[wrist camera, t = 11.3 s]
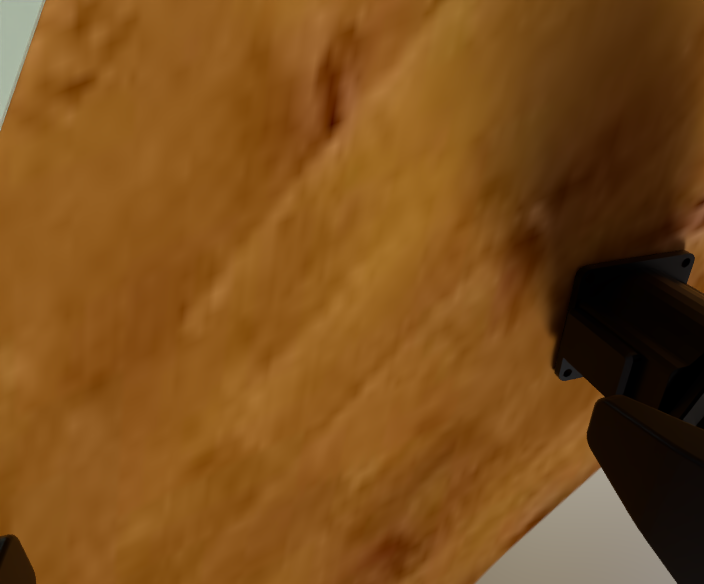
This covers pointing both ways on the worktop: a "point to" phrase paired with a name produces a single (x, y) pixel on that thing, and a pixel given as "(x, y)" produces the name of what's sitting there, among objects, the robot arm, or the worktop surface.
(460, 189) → the worktop surface
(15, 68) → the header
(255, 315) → the worktop surface
